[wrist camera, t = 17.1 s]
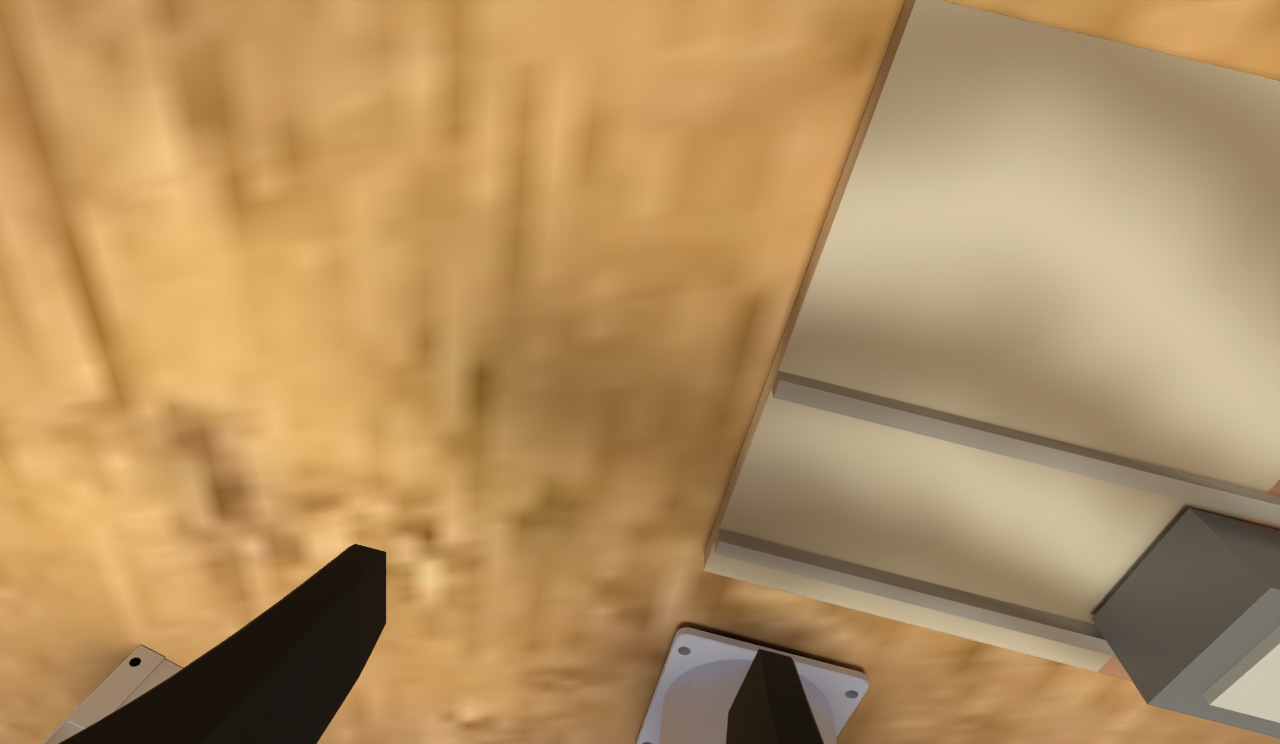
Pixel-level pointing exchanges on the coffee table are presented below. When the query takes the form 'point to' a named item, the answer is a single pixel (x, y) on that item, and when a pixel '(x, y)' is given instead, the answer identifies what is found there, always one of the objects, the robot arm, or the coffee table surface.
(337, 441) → the coffee table surface
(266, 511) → the coffee table surface
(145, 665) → the walkman
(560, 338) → the coffee table surface
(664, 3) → the coffee table surface
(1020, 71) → the cream ridged tray
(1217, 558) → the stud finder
